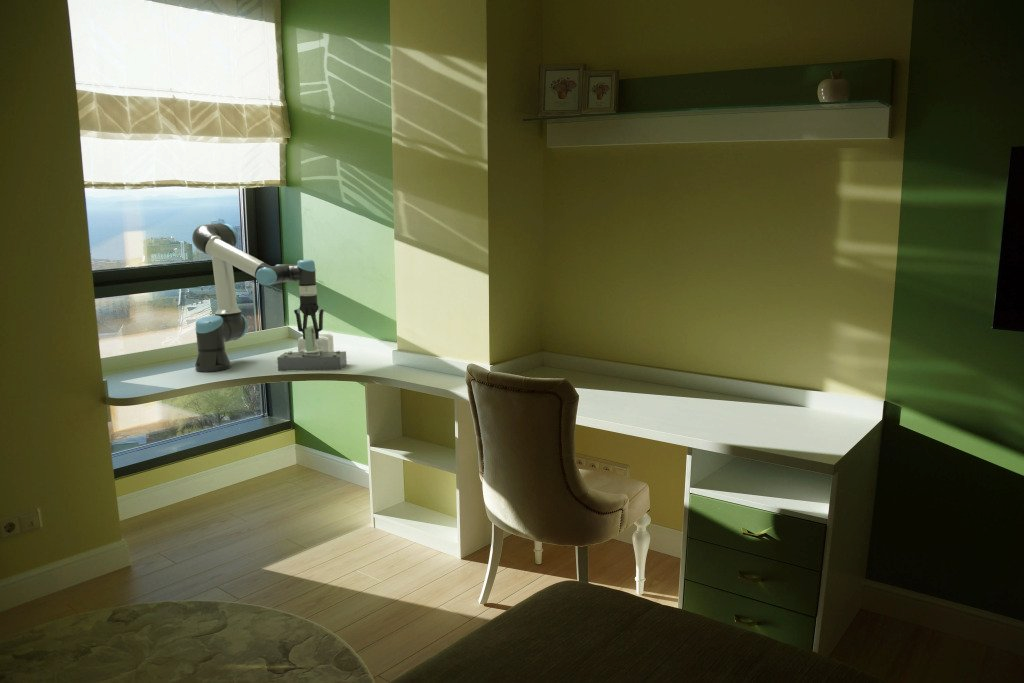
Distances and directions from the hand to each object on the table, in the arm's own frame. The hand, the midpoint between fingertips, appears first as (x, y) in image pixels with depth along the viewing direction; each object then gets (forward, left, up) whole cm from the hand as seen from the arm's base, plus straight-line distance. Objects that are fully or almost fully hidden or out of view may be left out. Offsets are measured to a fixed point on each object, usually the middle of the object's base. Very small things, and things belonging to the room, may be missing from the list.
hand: (311, 346), depth 374 cm
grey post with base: (0, 0, -9) cm, 9 cm away
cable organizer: (-3, +19, -10) cm, 22 cm away
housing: (0, 0, -10) cm, 10 cm away
